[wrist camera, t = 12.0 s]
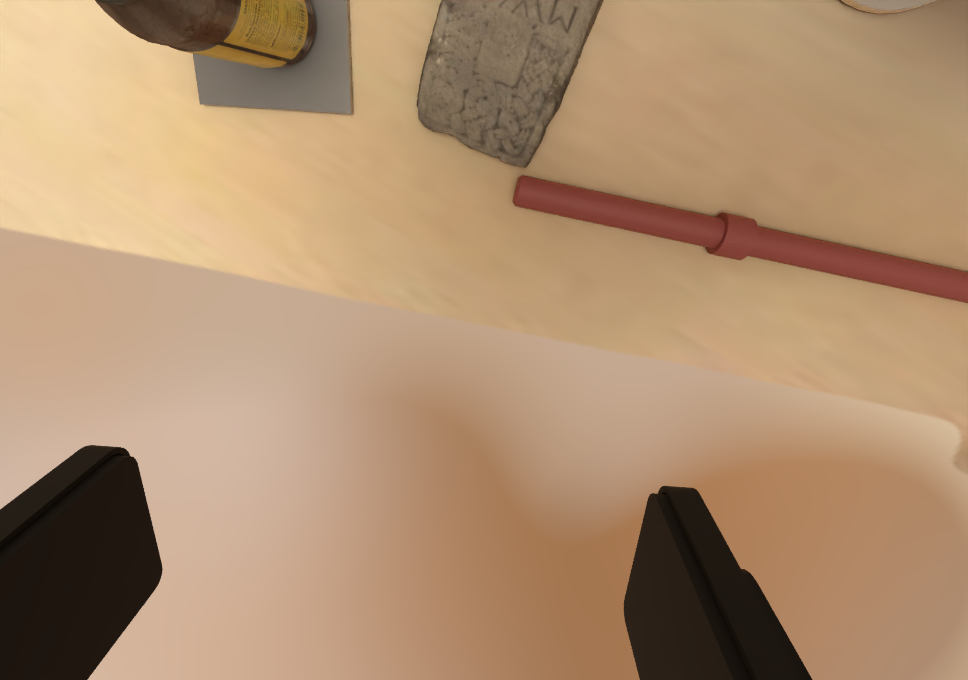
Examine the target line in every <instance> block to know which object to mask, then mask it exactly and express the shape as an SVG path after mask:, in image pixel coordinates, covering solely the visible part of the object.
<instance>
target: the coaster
mask: <svg viewBox="0 0 968 680" xmlns="http://www.w3.org/2000/svg"><path fill="white" fill-rule="evenodd" d="M310 2H311V6H312V10H313V13H314V17H315V34H314V37H313V41H312V44H311V46H310V49H309V50H308V52H307V54H306V56H305V57H304V58H303V59H302V60H301V61H299V62H298V63H295V64H293V65H291V66H286V67H282V68H262V67H258V66H253V65H248V64H243V63H238V62H233V61H228V60H222V59H217V58H213V57H208V56H203V55H199V54H194V53H193V58H194V65H195V72H196V79H197V86H198V93H199V100H200V104H202V105H216V106H232V107H248V108H263V109H279V110H294V111H310V112H326V113H341V114H353V96H352V68H351V41H350V14H349V0H310Z"/></svg>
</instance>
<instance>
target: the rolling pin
mask: <svg viewBox="0 0 968 680" xmlns="http://www.w3.org/2000/svg"><path fill="white" fill-rule="evenodd" d="M513 203H514V205H515V206H518V207H523V208H527V209H532V210H537V211H541V212H546V213H551V214H555V215H560V216H565V217H569V218H574V219H579V220H583V221H588V222H593V223H597V224H602V225H607V226H611V227H616V228H621V229H625V230H630V231H635V232H639V233H644V234H649V235H653V236H658V237H663V238H667V239H672V240H677V241H681V242H686V243H691V244H695V245H700V246H705V247H706V249H707V252H708V253H709V254H713V255H718V256H723V257H727V258H732V259H737V260H742V259H744V258H745V257H746V256H751V257H756V258H761V259H765V260H770V261H775V262H779V263H784V264H789V265H793V266H798V267H803V268H807V269H812V270H817V271H821V272H826V273H831V274H835V275H840V276H845V277H849V278H854V279H859V280H863V281H868V282H873V283H877V284H882V285H887V286H891V287H896V288H901V289H905V290H910V291H915V292H919V293H924V294H929V295H933V296H938V297H943V298H947V299H952V300H956V301H961V302H966V303H968V272H964V271H959V270H955V269H950V268H946V267H941V266H936V265H932V264H927V263H923V262H918V261H913V260H909V259H904V258H900V257H895V256H890V255H886V254H881V253H877V252H872V251H868V250H863V249H858V248H854V247H849V246H845V245H840V244H835V243H831V242H826V241H822V240H817V239H812V238H808V237H803V236H799V235H794V234H789V233H785V232H780V231H776V230H771V229H766V228H762V227H758V226H757V223H756V221H755V220H754V219H750V218H745V217H741V216H736V215H732V214H727V213H721V214H719V215H718V216H717V217H711V216H707V215H702V214H698V213H693V212H688V211H684V210H679V209H675V208H670V207H665V206H661V205H656V204H652V203H647V202H642V201H638V200H633V199H629V198H624V197H620V196H615V195H610V194H606V193H601V192H597V191H592V190H587V189H583V188H578V187H574V186H569V185H564V184H560V183H555V182H551V181H546V180H541V179H537V178H532V177H528V176H523V175H522V176H520V177H519V178H518V180H517V184H516V188H515V193H514V198H513Z"/></svg>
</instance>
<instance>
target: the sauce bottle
mask: <svg viewBox="0 0 968 680" xmlns="http://www.w3.org/2000/svg"><path fill="white" fill-rule="evenodd" d="M95 1H96V2H97V4H99V5H100V6H101V8H102V9H103V10H104V11H105V12H106V13H107V14H108V15H109V16H110V17H111V18H113V19H114V20H115V21H116V22H117V23H118V24H119V25H121V26H122V27H123V28H125V29H126V30H127V31H129V32H130V33H132V34H134V35H136V36H137V37H139V38H141V39H144V40H146V41H148V42H151V43H157V44H160V45H167V46H169V47H171V48H174V49H177V50H180V51H184V52H189V53H194V54H199V55H203V56H208V57H213V58H217V59H222V60H228V61H233V62H238V63H243V64H248V65H253V66H258V67H262V68H282V67H286V66H291V65H293V64H295V63H298V62H299V61H301V60H302V59H303V58H304V57H305V56H306V54H307V52H308V50H309V49H310V46H311V44H312V41H313V37H314V34H315V17H314V13H313V10H312V6H311V2H310V0H95Z"/></svg>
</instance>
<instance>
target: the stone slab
mask: <svg viewBox="0 0 968 680" xmlns="http://www.w3.org/2000/svg"><path fill="white" fill-rule="evenodd" d="M602 2H603V0H442V2H441V3H440V6H439V11H438V14H437V19H436V22H435V25H434V28H433V33H432V36H431V39H430V43H429V46H428V50H427V54H426V58H425V62H424V66H423V69H422V74H421V79H420V85H419V92H418V99H417V107H418V116H419V120H420V121H421V122H422V124H423V125H424V126H425V127H427V128H428V129H430V130H432V131H435V132H443V133H448V134H451V135H453V136H455V137H456V138H457V139H458V140H460V141H461V142H462V143H464V144H465V145H467V146H468V147H470V148H472V149H476V150H479V151H481V152H484V153H486V154H488V155H491V156H493V157H498V156H499V159H500V160H501V161H502V162H505V163H508V164H511V165H516V166H522V167H526V166H527V165H528V164H529V162H530V160H531V158H532V156H533V155H534V153H535V151H536V149H537V148H538V146H539V144H540V143H541V141H542V139H543V136H544V134H545V130H546V127H547V125H548V124H549V122H550V121H551V119H552V118H553V116H554V115H555V113H556V112H557V111H558V109H559V107H560V105H561V102H562V99H563V96H564V93H565V91H566V89H567V86H568V84H569V82H570V79H571V76H572V74H573V72H574V69H575V68H576V66H577V63H578V59H579V58H580V56H581V52H582V48H583V46H584V43H585V42H586V39H587V37H588V36H589V33H590V31H591V28H592V26H593V24H594V22H595V19H596V16H597V14H598V12H599V9H600V7H601V5H602Z"/></svg>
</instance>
